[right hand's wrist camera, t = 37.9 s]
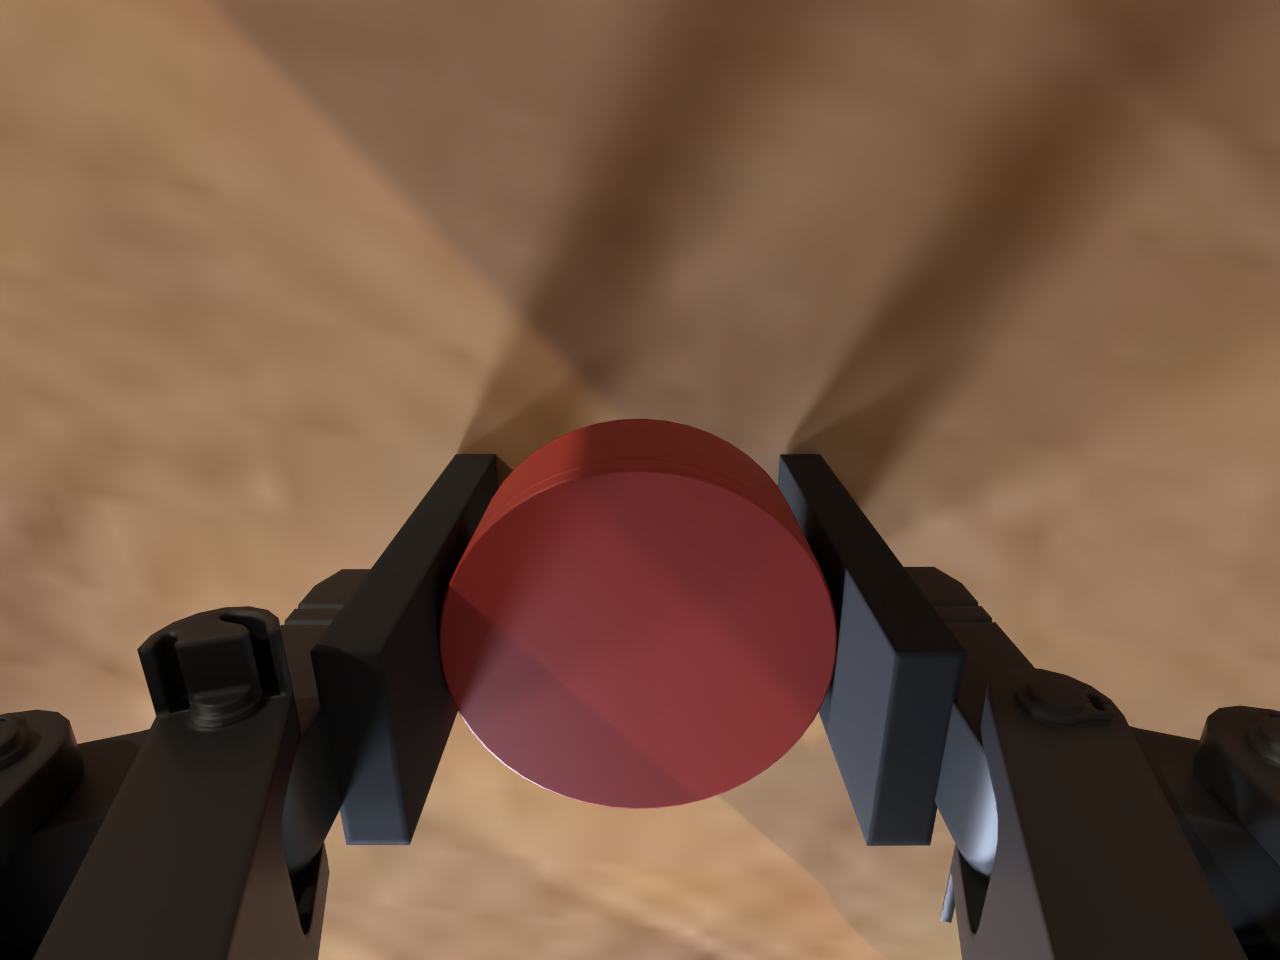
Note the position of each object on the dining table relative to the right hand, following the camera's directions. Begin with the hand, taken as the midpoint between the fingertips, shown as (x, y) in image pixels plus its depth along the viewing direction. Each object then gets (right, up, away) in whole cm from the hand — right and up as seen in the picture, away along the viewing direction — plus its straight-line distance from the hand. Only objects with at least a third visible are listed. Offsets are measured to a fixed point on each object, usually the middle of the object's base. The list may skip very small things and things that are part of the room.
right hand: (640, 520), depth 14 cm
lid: (0, -1, -4) cm, 4 cm away
